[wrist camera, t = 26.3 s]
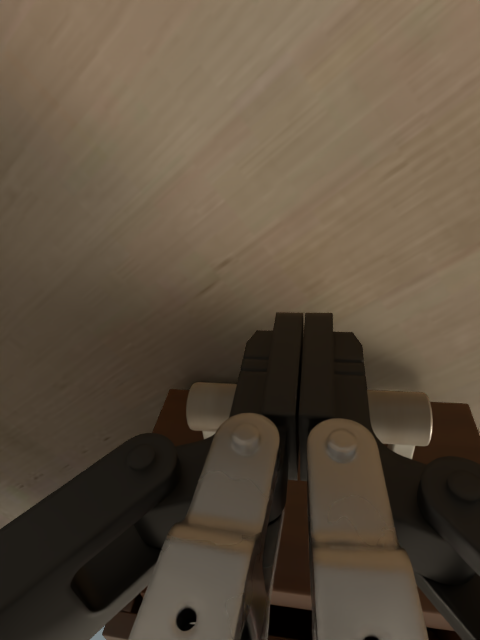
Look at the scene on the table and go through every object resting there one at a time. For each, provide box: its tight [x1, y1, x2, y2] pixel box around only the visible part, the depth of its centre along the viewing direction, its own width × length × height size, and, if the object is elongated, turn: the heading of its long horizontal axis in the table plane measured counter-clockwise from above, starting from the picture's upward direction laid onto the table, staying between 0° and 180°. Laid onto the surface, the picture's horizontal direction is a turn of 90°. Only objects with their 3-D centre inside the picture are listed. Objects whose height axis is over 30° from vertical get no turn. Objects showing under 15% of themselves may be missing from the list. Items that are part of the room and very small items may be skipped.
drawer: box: [140, 382, 480, 640], centre depth 18 cm, size 20×13×8 cm, turn 6°
